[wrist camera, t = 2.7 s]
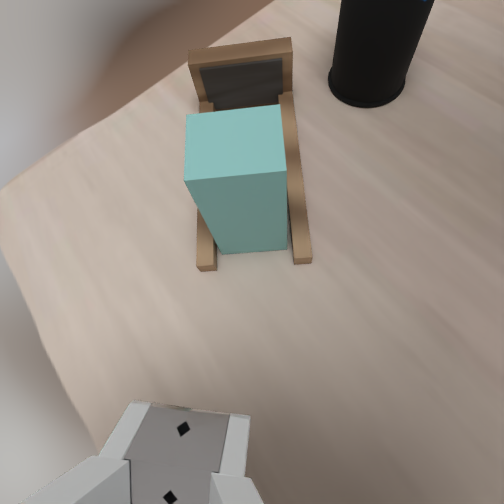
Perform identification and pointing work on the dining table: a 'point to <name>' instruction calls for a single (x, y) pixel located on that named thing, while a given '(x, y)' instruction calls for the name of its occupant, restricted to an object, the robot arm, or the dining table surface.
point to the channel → (251, 95)
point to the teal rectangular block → (239, 177)
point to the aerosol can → (375, 49)
